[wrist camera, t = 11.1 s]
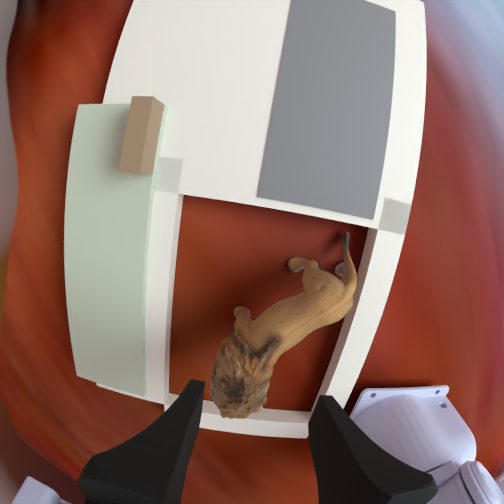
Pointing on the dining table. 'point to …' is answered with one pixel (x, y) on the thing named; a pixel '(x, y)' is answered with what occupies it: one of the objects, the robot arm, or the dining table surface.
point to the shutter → (110, 237)
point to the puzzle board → (279, 145)
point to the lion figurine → (277, 334)
